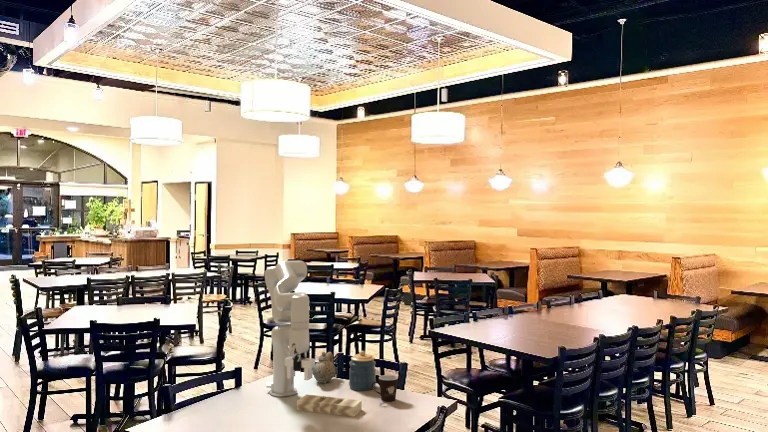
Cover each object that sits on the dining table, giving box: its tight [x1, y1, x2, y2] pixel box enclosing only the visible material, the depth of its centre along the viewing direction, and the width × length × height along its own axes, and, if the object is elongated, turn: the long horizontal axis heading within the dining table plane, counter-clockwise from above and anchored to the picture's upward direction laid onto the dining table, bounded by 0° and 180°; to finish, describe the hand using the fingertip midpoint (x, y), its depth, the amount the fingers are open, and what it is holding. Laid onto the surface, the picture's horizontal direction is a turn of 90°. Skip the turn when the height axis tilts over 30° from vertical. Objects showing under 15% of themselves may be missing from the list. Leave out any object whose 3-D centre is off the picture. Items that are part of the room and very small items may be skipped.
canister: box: [348, 350, 377, 392], centre depth 282 cm, size 13×13×18 cm
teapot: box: [312, 351, 337, 384], centre depth 292 cm, size 21×12×15 cm, turn 168°
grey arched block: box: [285, 356, 316, 381], centre depth 242 cm, size 12×4×8 cm, turn 70°
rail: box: [296, 394, 363, 418], centre depth 248 cm, size 26×9×4 cm, turn 71°
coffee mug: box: [371, 374, 399, 403], centre depth 262 cm, size 12×9×10 cm
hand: (299, 368), depth 242 cm, fingers closed on grey arched block, 4 cm apart
